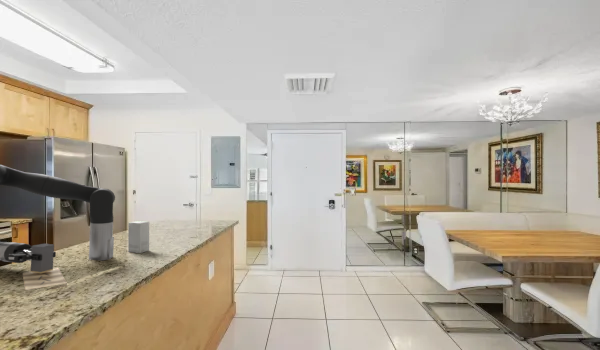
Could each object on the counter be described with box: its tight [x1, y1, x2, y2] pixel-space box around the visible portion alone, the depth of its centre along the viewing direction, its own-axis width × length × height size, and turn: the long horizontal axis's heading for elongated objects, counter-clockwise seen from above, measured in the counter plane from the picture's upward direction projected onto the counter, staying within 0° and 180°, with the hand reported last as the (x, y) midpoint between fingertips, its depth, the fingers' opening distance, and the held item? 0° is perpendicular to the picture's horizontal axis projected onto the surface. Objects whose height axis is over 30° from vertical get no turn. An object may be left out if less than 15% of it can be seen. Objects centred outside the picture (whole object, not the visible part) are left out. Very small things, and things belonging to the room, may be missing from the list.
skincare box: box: [127, 220, 150, 254], centre depth 160 cm, size 8×7×16 cm
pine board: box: [22, 267, 68, 291], centre depth 113 cm, size 24×11×1 cm, turn 44°
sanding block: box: [30, 243, 55, 273], centre depth 118 cm, size 5×4×10 cm
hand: (48, 256), depth 117 cm, fingers closed on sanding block, 4 cm apart
